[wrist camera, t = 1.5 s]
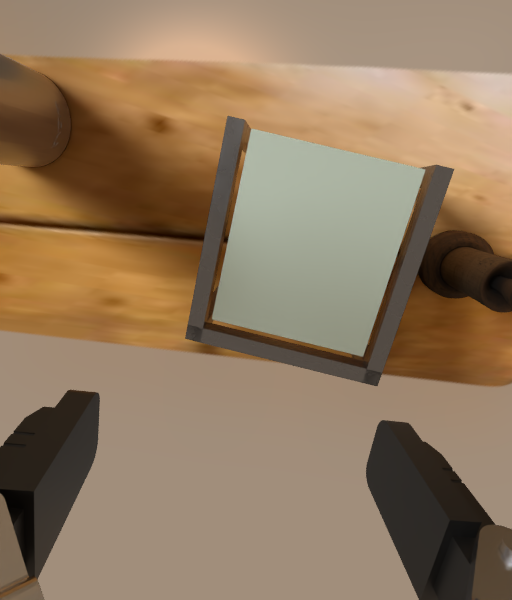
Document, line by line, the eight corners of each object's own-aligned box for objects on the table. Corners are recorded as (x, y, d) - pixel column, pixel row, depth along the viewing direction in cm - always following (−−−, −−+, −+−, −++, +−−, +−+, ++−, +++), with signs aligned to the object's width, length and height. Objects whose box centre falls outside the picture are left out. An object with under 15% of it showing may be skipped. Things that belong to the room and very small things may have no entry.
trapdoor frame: (215, 296, 43) (185, 338, 31) (248, 139, 38) (227, 115, 26) (352, 330, 43) (377, 386, 30) (402, 176, 38) (454, 169, 26)
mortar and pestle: (476, 220, 39) (625, 243, 21) (491, 280, 40) (642, 348, 23) (408, 243, 40) (498, 283, 22) (425, 301, 41) (522, 381, 24)
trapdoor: (214, 315, 31) (211, 319, 30) (252, 130, 27) (251, 128, 27) (360, 351, 31) (363, 356, 30) (420, 170, 27) (425, 169, 26)
